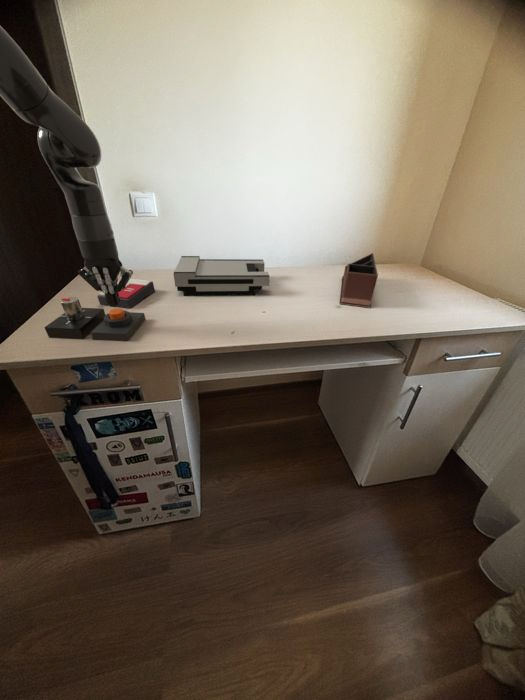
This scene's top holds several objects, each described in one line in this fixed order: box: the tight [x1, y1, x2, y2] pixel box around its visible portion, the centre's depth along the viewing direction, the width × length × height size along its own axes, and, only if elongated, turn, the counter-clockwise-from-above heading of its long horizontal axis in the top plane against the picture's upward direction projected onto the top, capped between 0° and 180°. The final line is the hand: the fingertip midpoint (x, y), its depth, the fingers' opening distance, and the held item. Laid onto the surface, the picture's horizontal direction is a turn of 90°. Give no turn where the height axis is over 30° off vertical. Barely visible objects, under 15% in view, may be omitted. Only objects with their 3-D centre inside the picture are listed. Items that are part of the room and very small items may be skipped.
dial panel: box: [44, 307, 106, 340], centre depth 76 cm, size 12×9×3 cm
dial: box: [60, 296, 84, 321], centre depth 74 cm, size 4×4×5 cm
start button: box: [108, 308, 125, 320], centre depth 75 cm, size 4×4×2 cm
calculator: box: [96, 278, 156, 309], centre depth 94 cm, size 11×4×15 cm
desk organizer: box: [339, 252, 379, 309], centre depth 104 cm, size 10×29×11 cm, turn 165°
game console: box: [173, 255, 271, 297], centre depth 105 cm, size 21×32×8 cm, turn 96°
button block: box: [90, 310, 146, 342], centre depth 76 cm, size 12×9×4 cm
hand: (115, 305), depth 73 cm, fingers closed
